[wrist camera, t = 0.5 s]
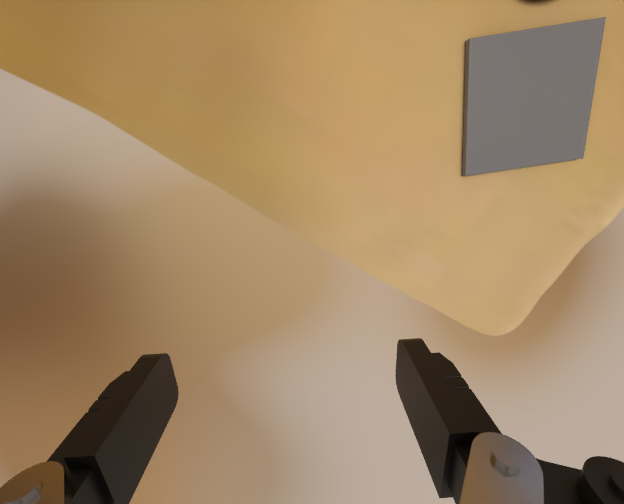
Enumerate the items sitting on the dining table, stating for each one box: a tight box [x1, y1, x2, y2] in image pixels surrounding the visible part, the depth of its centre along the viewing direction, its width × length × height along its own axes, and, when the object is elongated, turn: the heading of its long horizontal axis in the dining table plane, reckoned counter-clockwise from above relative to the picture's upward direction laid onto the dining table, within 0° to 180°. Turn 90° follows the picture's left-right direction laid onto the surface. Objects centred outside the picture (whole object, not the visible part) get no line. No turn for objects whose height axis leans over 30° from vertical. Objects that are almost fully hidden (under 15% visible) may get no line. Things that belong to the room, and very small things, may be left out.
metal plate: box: [462, 17, 606, 176], centre depth 33 cm, size 14×14×1 cm
